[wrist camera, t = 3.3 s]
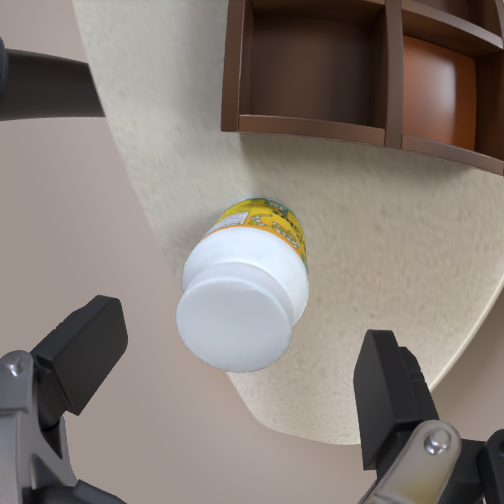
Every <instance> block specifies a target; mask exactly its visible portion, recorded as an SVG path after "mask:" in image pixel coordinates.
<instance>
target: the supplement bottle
mask: <svg viewBox="0 0 504 504" xmlns="http://www.w3.org/2000/svg"><path fill="white" fill-rule="evenodd" d="M182 290H183V296H182V298H181V300H180V301H179V303H178V307H177V310H176V326H177V330H178V333H179V335H180V338H181V339H182V341H183V343H184V344H185V346H186V347H187V348H188V350H189V351H190V352H191V353H192V354H193V355H195V356H196V357H197V358H198V359H200V360H201V361H203V362H204V363H206V364H208V365H210V366H213V367H215V368H218V369H221V370H224V371H228V372H238V373H245V372H253V371H258V370H261V369H263V368H266V367H268V366H270V365H272V364H273V363H274V362H276V361H277V360H278V359H279V358H280V357H281V356H282V355H283V354H284V353H285V351H286V349H287V348H288V345H289V343H290V339H291V335H292V327H293V326H294V325H295V324H296V323H297V322H298V320H299V319H300V317H301V316H302V314H303V312H304V310H305V307H306V304H307V301H308V294H309V280H308V269H307V260H306V249H305V239H304V232H303V228H302V226H301V223H300V221H299V219H298V218H297V216H296V215H295V214H294V212H293V211H292V210H291V209H289V208H288V207H287V206H285V205H284V204H282V203H280V202H278V201H276V200H273V199H270V198H267V197H250V198H246V199H243V200H241V201H239V202H237V203H235V204H234V205H232V206H231V207H230V208H229V209H228V210H227V211H226V212H225V213H224V214H223V215H222V216H221V217H220V218H219V219H218V221H217V222H216V223H215V224H214V225H213V227H212V228H211V229H210V230H209V231H208V232H207V234H206V235H205V236H204V237H203V238H202V239H201V241H200V242H199V243H198V244H197V245H196V247H195V248H194V249H193V251H192V252H191V254H190V255H189V257H188V259H187V261H186V264H185V266H184V270H183V276H182Z"/></svg>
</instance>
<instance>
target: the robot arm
mask: <svg viewBox="0 0 504 504" xmlns="http://www.w3.org/2000/svg"><path fill="white" fill-rule="evenodd" d="M127 344H128V335H127V330H126V326H125V321H124V316H123V311H122V306H121V302H120V301H119V299H117V298H112V297H107V296H102V295H97V296H96V297H94V299H92V300H91V301H90V302H89V303H88V304H87V305H86V306H84V307H82V308H80V309H78V310H76V311H74V312H72V313H71V314H70V315H69V316H68V317H67V318H66V319H65V320H64V321H63V322H61V323H60V324H59V325H58V326H57V327H56V329H54V330H53V331H51V332H50V333H49V334H48V335H47V336H46V337H45V338H44V339H43V340H42V341H41V342H40V343H39V344H38V345H37V346H36V347H35V348H34V349H33V350H32V351H31V352H30V353H28V352H26V351H22V350H17V351H12V352H10V353H7V354H6V355H4V356H3V357H2V358H1V359H0V504H127V503H125V502H124V501H122V500H121V499H119V498H118V497H117V496H114V495H112V494H110V493H107V492H105V491H103V490H101V489H99V488H96V487H94V486H92V485H90V484H88V483H86V482H84V481H82V480H80V479H79V480H78V481H77V479H76V477H75V475H74V473H73V471H72V468H71V465H70V459H69V453H68V446H67V437H66V428H65V420H64V417H63V416H62V415H63V413H64V412H65V411H69V412H71V413H73V414H75V415H77V416H79V415H80V413H81V412H82V410H83V409H84V407H85V406H86V405H87V403H88V402H89V400H90V399H91V397H92V396H93V395H94V393H95V392H96V391H97V389H98V387H99V386H100V385H101V384H102V382H103V381H104V379H105V378H106V377H107V375H108V374H109V373H110V371H111V370H112V368H113V367H114V366H115V364H116V363H117V362H118V360H119V359H120V358H121V356H122V355H123V354H124V352H125V350H126V348H127ZM353 384H354V392H355V399H356V406H357V414H358V421H359V430H360V438H361V448H362V458H363V468H364V470H376V471H377V479H376V480H375V482H374V483H373V484H372V485H371V487H370V488H369V489H368V491H367V492H366V493H365V495H364V496H363V497H362V498H361V500H360V501H359V502H358V503H357V504H483V498H485V501H486V504H504V429H501V430H498V431H496V432H495V433H494V434H493V435H492V436H491V437H490V438H489V439H488V441H487V442H484V441H475V440H467V439H461V437H460V435H459V433H458V431H457V430H456V429H455V428H454V427H453V426H451V425H450V424H449V423H447V422H444V421H441V420H439V417H438V413H437V411H436V408H435V405H434V402H433V400H432V397H431V394H430V392H429V389H428V386H427V384H426V382H425V379H424V376H423V374H422V372H421V369H420V366H419V364H418V361H417V359H416V357H415V356H414V355H413V354H412V353H411V352H410V351H409V350H408V349H407V348H406V347H399V346H398V343H397V341H396V338H395V336H394V333H393V332H392V331H391V330H368V331H367V332H366V334H365V337H364V341H363V344H362V347H361V351H360V354H359V357H358V360H357V363H356V366H355V370H354V378H353Z"/></svg>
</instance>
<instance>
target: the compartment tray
mask: <svg viewBox="0 0 504 504" xmlns="http://www.w3.org/2000/svg"><path fill="white" fill-rule="evenodd" d="M221 131H222V132H231V133H245V134H266V135H282V136H295V137H306V138H316V139H325V140H334V141H342V142H349V143H356V144H363V145H369V146H376V147H382V148H387V149H393V150H398V151H403V152H408V153H413V154H418V155H423V156H427V157H432V158H436V159H440V160H445V161H449V162H453V163H456V164H460V165H464V166H468V167H471V168H475V169H479V170H483V171H486V172H490V173H494V174H497V175H501V176H504V2H503V0H229V3H228V15H227V27H226V41H225V55H224V71H223V89H222V109H221Z"/></svg>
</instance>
